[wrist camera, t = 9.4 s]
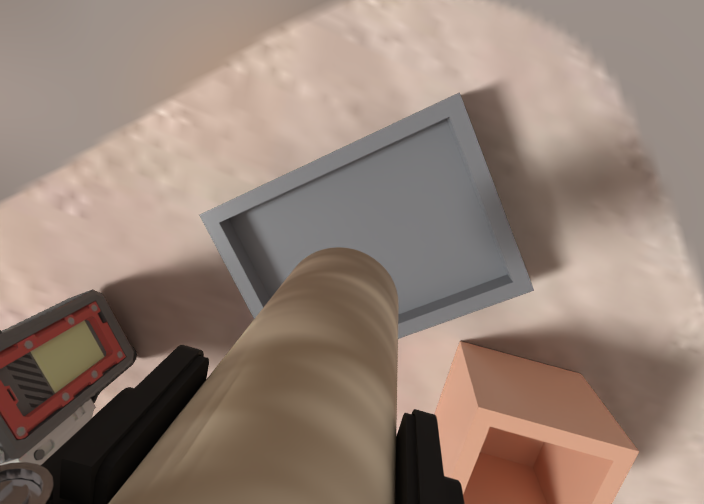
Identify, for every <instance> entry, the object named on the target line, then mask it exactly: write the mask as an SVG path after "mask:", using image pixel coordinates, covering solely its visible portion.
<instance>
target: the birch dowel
mask: <svg viewBox="0 0 704 504" xmlns="http://www.w3.org/2000/svg"><path fill="white" fill-rule="evenodd" d="M397 362H398V294H397V290H396V287H395V284H394V282H393V280H392V278H391V276H390V275H389V273H388V272H387V270H386V269H385V268H384V267H383V266H382V265H381V264H380V263H379V262H378V261H376V260H375V259H374V258H372V257H371V256H369V255H367V254H365V253H363V252H361V251H358V250H355V249H350V248H341V247H336V248H327V249H323V250H320V251H317V252H315V253H313V254H311V255H309V256H307V257H306V258H304V259H303V260H302V261H301V262H300V263H299V264H298V265H297V266H296V267H295V268H294V270H293V271H292V272H291V273H290V275H289V276H288V277H287V278H286V280H285V281H284V282H283V284H282V285H281V286H280V287H279V289H278V290H277V291H276V292H275V294H274V295H273V296H272V297H271V299H270V300H269V301H268V302H267V304H266V305H265V306H264V308H263V309H262V310H261V311H260V313H259V314H258V315H257V316H256V318H255V319H254V320H253V321H252V323H251V324H250V325H249V326H248V328H247V329H246V330H245V332H244V333H243V334H242V335H241V337H240V338H239V339H238V340H237V342H236V343H235V344H234V345H233V347H232V348H231V349H230V350H229V352H228V353H227V354H226V356H225V357H224V358H223V359H222V361H221V362H220V363H219V364H218V366H217V367H216V368H215V369H214V371H213V372H212V373H211V375H210V376H209V377H208V378H207V380H206V381H205V382H204V383H203V385H202V386H201V387H200V388H199V390H198V391H197V392H196V393H195V395H194V396H193V397H192V399H191V400H190V401H189V402H188V404H187V405H186V406H185V407H184V409H183V410H182V411H181V412H180V414H179V415H178V416H177V417H176V419H175V420H174V421H173V423H172V424H171V425H170V426H169V428H168V429H167V430H166V431H165V433H164V434H163V435H162V436H161V438H160V439H159V440H158V442H157V443H156V444H155V445H154V447H153V448H152V449H151V450H150V452H149V453H148V454H147V455H146V457H145V458H144V459H143V460H142V462H141V463H140V464H139V466H138V467H137V468H136V469H135V471H134V472H133V473H132V474H131V476H130V477H129V478H128V479H127V481H126V482H125V483H124V484H123V486H122V487H121V488H120V490H119V491H118V492H117V493H116V495H115V496H114V497H113V498H112V500H111V501H110V502H109V503H108V504H395V478H396V420H397Z"/></svg>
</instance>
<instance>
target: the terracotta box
mask: <svg viewBox="0 0 704 504" xmlns="http://www.w3.org/2000/svg"><path fill="white" fill-rule="evenodd" d="M434 415H436V416H437V422H438V430H439V438H440V446H441V454H442V462H443V470H444V476H446V477H449V478H453V479H456V480H459V482H460V483H461V486H462V491H463V497H464V503H465V504H612V502H613V501H614V499H615V497H616V495H617V493H618V491H619V489H620V487H621V485H622V483H623V482H624V480H625V478H626V476H627V474H628V472H629V470H630V468H631V466H632V464H633V463H634V461H635V459H636V457H637V455H638V453H639V451H638V449H637V448H636V447H635V445H634V444H633V443H632V441H631V440H630V439H629V437H628V436H627V435H626V433H625V432H624V431H623V429H622V428H621V427H620V425H619V424H618V423H617V421H616V420H615V419H614V417H613V416H612V415H611V413H610V412H609V411H608V409H607V408H606V407H605V405H604V404H603V403H602V401H601V400H600V399H599V397H598V396H597V395H596V393H595V392H594V391H593V389H592V388H591V387H590V385H589V384H588V383H587V381H586V380H585V378H584V377H583V376H582V374H580V373H576V372H573V371H569V370H565V369H561V368H558V367H554V366H550V365H547V364H543V363H539V362H536V361H532V360H528V359H525V358H521V357H517V356H513V355H510V354H506V353H502V352H499V351H495V350H491V349H488V348H484V347H480V346H477V345H473V344H469V343H466V342H462V341H460V342H459V345H458V348H457V351H456V354H455V357H454V360H453V362H452V365H451V368H450V371H449V374H448V377H447V380H446V383H445V385H444V388H443V391H442V394H441V397H440V400H439V403H438V406H437V408H436V411H435V414H434Z"/></svg>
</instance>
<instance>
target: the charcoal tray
mask: <svg viewBox="0 0 704 504" xmlns="http://www.w3.org/2000/svg"><path fill="white" fill-rule="evenodd" d="M199 216H200V217H201V219H202V221H203V223H204V225H205V227H206V229H207V231H208V233H209V234H210V236H211V238H212V240H213V242H214V244H215V246H216V248H217V250H218V252H219V253H220V255H221V257H222V259H223V261H224V263H225V265H226V267H227V269H228V270H229V272H230V274H231V276H232V278H233V280H234V282H235V284H236V286H237V287H238V289H239V291H240V293H241V295H242V297H243V299H244V301H245V303H246V304H247V306H248V308H249V310H250V312H251V314H252V316H253V318H254V319H255V318H256V316H257V315H258V314H259V313H260V311H261V310H262V309H263V308H264V306H265V305H266V304H267V302H268V301H269V300H270V299H271V297H272V296H273V295H274V294H275V292H276V291H277V290H278V289H279V287H280V286H281V285H282V284H283V282H284V281H285V280H286V278H287V277H288V276H289V275H290V273H291V272H292V271H293V270H294V268H295V267H296V266H297V265H298V264H299V263H300V262H301V261H302V260H303V259H304V258H306V257H307V256H309V255H311V254H313V253H315V252H317V251H320V250H323V249H327V248H336V247H341V248H350V249H355V250H358V251H361V252H363V253H365V254H367V255H369V256H371V257H372V258H374V259H375V260H376V261H378V262H379V263H380V264H381V265H382V266H383V267H384V268H385V269H386V270H387V272H388V273H389V275H390V276H391V278H392V280H393V282H394V284H395V287H396V290H397V294H398V339H399V338H402V337H405V336H407V335H410V334H413V333H416V332H419V331H422V330H424V329H427V328H430V327H433V326H436V325H438V324H441V323H444V322H447V321H450V320H452V319H455V318H458V317H461V316H464V315H467V314H469V313H472V312H475V311H478V310H481V309H483V308H486V307H489V306H492V305H495V304H497V303H500V302H503V301H506V300H509V299H512V298H514V297H517V296H520V295H523V294H526V293H528V292H531V291H534V289H533V286H532V283H531V281H530V278H529V276H528V273H527V270H526V268H525V265H524V262H523V260H522V257H521V254H520V252H519V249H518V246H517V244H516V241H515V238H514V236H513V233H512V230H511V228H510V225H509V222H508V220H507V217H506V214H505V212H504V209H503V206H502V204H501V201H500V199H499V196H498V193H497V191H496V188H495V185H494V183H493V180H492V177H491V175H490V172H489V169H488V167H487V164H486V161H485V159H484V156H483V153H482V151H481V148H480V145H479V143H478V140H477V137H476V135H475V132H474V129H473V127H472V124H471V122H470V119H469V116H468V114H467V111H466V108H465V106H464V103H463V100H462V98H461V95H460V92H459V93H457V94H455V95H453V96H451V97H449V98H447V99H445V100H442V101H440V102H438V103H436V104H434V105H432V106H430V107H428V108H425V109H423V110H421V111H419V112H417V113H415V114H413V115H410V116H408V117H406V118H404V119H402V120H400V121H398V122H396V123H393V124H391V125H389V126H387V127H385V128H383V129H381V130H379V131H376V132H374V133H372V134H370V135H368V136H366V137H364V138H362V139H359V140H357V141H355V142H353V143H351V144H349V145H347V146H345V147H342V148H340V149H338V150H336V151H334V152H332V153H330V154H328V155H325V156H323V157H321V158H319V159H317V160H315V161H313V162H311V163H308V164H306V165H304V166H302V167H300V168H298V169H296V170H294V171H291V172H289V173H287V174H285V175H283V176H281V177H279V178H276V179H274V180H272V181H270V182H268V183H266V184H264V185H262V186H259V187H257V188H255V189H253V190H251V191H249V192H247V193H245V194H242V195H240V196H238V197H236V198H234V199H232V200H230V201H228V202H225V203H223V204H221V205H219V206H217V207H215V208H213V209H211V210H208V211H206V212H204V213H202V214H200V215H199Z"/></svg>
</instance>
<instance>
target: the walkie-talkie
mask: <svg viewBox="0 0 704 504" xmlns="http://www.w3.org/2000/svg"><path fill="white" fill-rule="evenodd" d="M136 355H137V353H136V351H135V349H134V348H133V347H132V346H131V345H130V343H129V342H128V340H127V338H126V336H125V334H124V332H123V330H122V329H121V327H120V325H119V323H118V321H117V319H116V317H115V316H114V314H113V312H112V310H111V308H110V306H109V304H108V303H107V301H106V299H105V297H104V295H103V294H102V293H99V292H97V291H95V290H90V291H87V292H85V293H82V294H79V295H77V296H74V297H71V298H69V299H66V300H65V301H62V302H61V303H59V304H56V305H55V306H52V307H50V308H49V309H46V310H44V311H43V312H40V313H38V314H36V315H34V316H31V317H30V318H28V319H25V320H24V321H22V322H19V323H17V324H16V325H13V326H11V327H10V328H8V329H5V330H3V331H1V330H0V465H4V464H8V463H17V462H28V463H34V464H39V465H42V464H43V463H44V462H45V461H46V460H47V459H48V458H49V457H50V456H51V455H52V454H54V453H55V452H56V451H57V450H58V449H59V448H60V447H61V446H62V445H63V444H64V443H65V442H67V441H68V440H69V439H70V438H71V437H72V436H73V435H74V434H75V433H76V432H77V431H78V430H80V429H81V428H82V427H83V426H84V425H85V424H86V423H87V422H88V421H89V420H90V419H91V418H92V415H93V411H94V409H95V408H96V407H95V405H94V403H95V401H96V399H97V397H98V395H99V394H100V392H101V391H102V390H103V389H104V388H106V387H107V386H108V385H109V384H110V383H112V382H113V381H114V380H115V379H116V378H117V377H119V376H120V375H121V374H122V373H123V372H124V371H126V370H127V369H128V368H129V367H130V366H132V365H133V363H134V362H135V360H136Z"/></svg>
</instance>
